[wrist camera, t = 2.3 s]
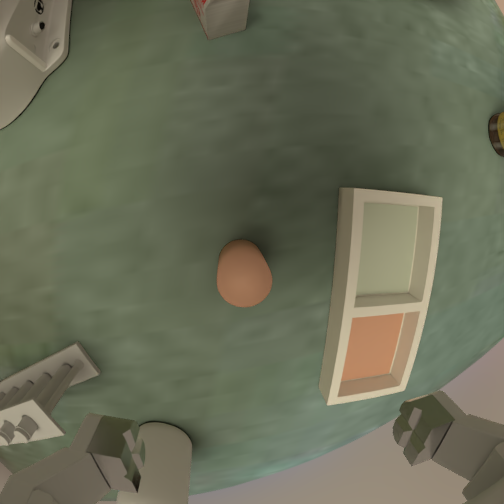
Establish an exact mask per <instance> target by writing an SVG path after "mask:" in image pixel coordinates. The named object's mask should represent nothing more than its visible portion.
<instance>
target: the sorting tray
mask: <svg viewBox="0 0 504 504" xmlns="http://www.w3.org/2000/svg"><path fill="white" fill-rule="evenodd" d="M441 212H442V198H441V197H434V196H426V195H418V194H410V193H401V192H391V191H381V190H371V189H359V188H340V187H339V199H338V219H337V236H336V250H335V262H334V273H333V284H332V293H331V302H330V311H329V319H328V327H327V335H326V342H325V349H324V356H323V362H322V368H321V375H320V380H319V386H318V387H319V389H320V391H321V393H322V396H323V398H324V400H325V402H326V404H327V405H333V404H340V403H346V402H352V401H358V400H363V399H368V398H373V397H378V396H383V395H387V394H392V393H396V392H400V391H404V390H405V388H406V385H407V382H408V379H409V376H410V373H411V370H412V366H413V363H414V360H415V356H416V353H417V349H418V346H419V342H420V338H421V334H422V331H423V326H424V322H425V318H426V314H427V309H428V304H429V300H430V295H431V289H432V284H433V278H434V272H435V266H436V259H437V251H438V243H439V235H440V224H441Z"/></svg>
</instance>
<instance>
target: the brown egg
mask: <svg viewBox="0 0 504 504" xmlns="http://www.w3.org/2000/svg"><path fill="white" fill-rule="evenodd" d="M271 286H272V274H271V271H270V269H269V267H268V265H267V263H266V261H265V259H264V257H263V255H262V254H261V252H260V250H259V248H258V247H257V246H256V245H255V244H254V243H252V242H250V241H248V240H242V239H240V240H234V241H231V242H229V243H228V244H227V245H225V246H224V248H223V249H222V250H221V252H220V255H219V261H218V272H217V287H218V290H219V293H220V294H221V296H222V297H223V298H224V299H225V300H226V301H227V302H228V303H230V304H232V305H234V306H238V307H250V306H254V305H256V304H258V303H260V302H261V301H263V300H264V299H265V298H266V297H267V295H268V294H269V292H270V290H271Z"/></svg>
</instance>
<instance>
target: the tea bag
mask: <svg viewBox="0 0 504 504" xmlns="http://www.w3.org/2000/svg"><path fill="white" fill-rule="evenodd" d="M191 2H192V5H193V7H194V9H195V11H196V13H197V16H198V18H199V20H200V22H201V25H202V27H203V29H204V31H205V34H206V36H207V38H208V40H212V39H215V38H218V37H222V36H225V35H228V34H232V33H236V32H239V31H243V30H245V29H246V22H247V15H248V8H249V2H250V0H191Z"/></svg>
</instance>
